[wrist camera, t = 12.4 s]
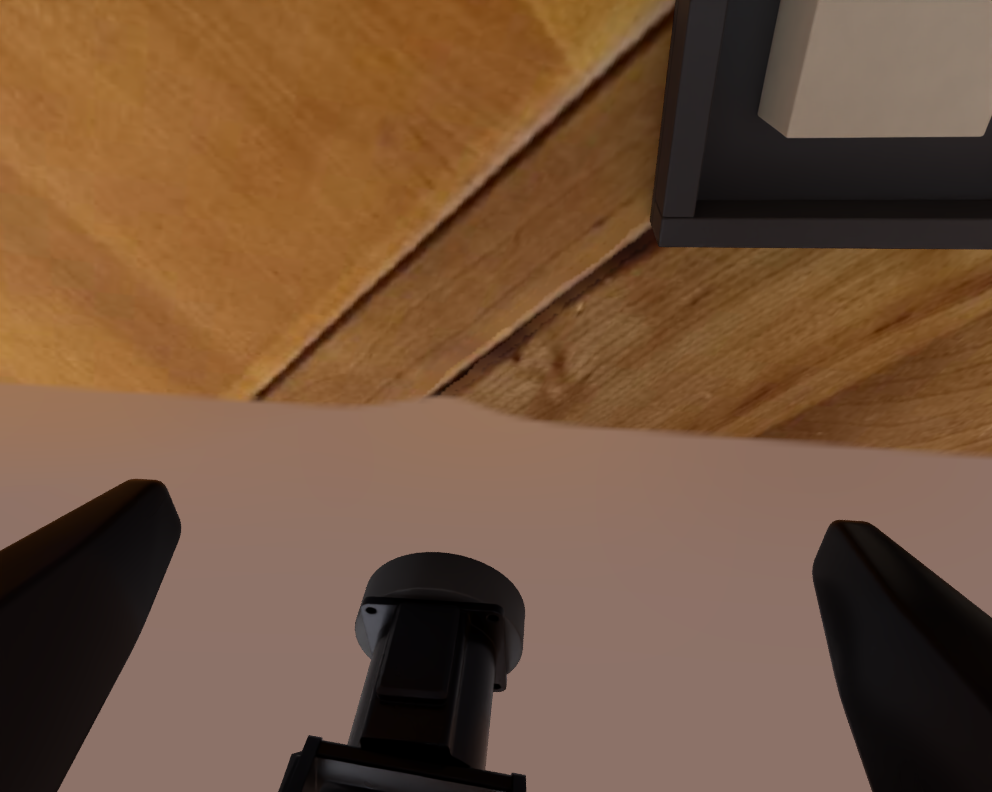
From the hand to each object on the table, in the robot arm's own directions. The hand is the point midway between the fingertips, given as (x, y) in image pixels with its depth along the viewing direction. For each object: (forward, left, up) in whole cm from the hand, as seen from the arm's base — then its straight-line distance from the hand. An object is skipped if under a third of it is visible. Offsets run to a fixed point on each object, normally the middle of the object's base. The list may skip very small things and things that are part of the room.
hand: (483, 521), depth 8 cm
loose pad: (+5, -8, -11) cm, 15 cm away
